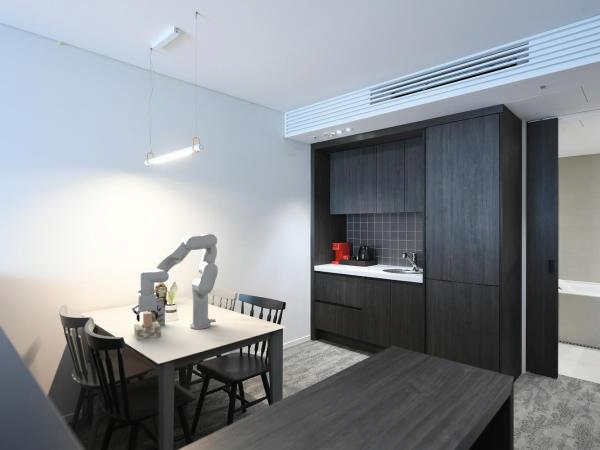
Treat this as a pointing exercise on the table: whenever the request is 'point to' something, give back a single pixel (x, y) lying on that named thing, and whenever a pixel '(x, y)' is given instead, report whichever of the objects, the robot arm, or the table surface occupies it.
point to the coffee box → (161, 313)
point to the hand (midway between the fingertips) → (147, 320)
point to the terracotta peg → (147, 319)
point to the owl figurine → (161, 292)
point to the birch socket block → (147, 331)
